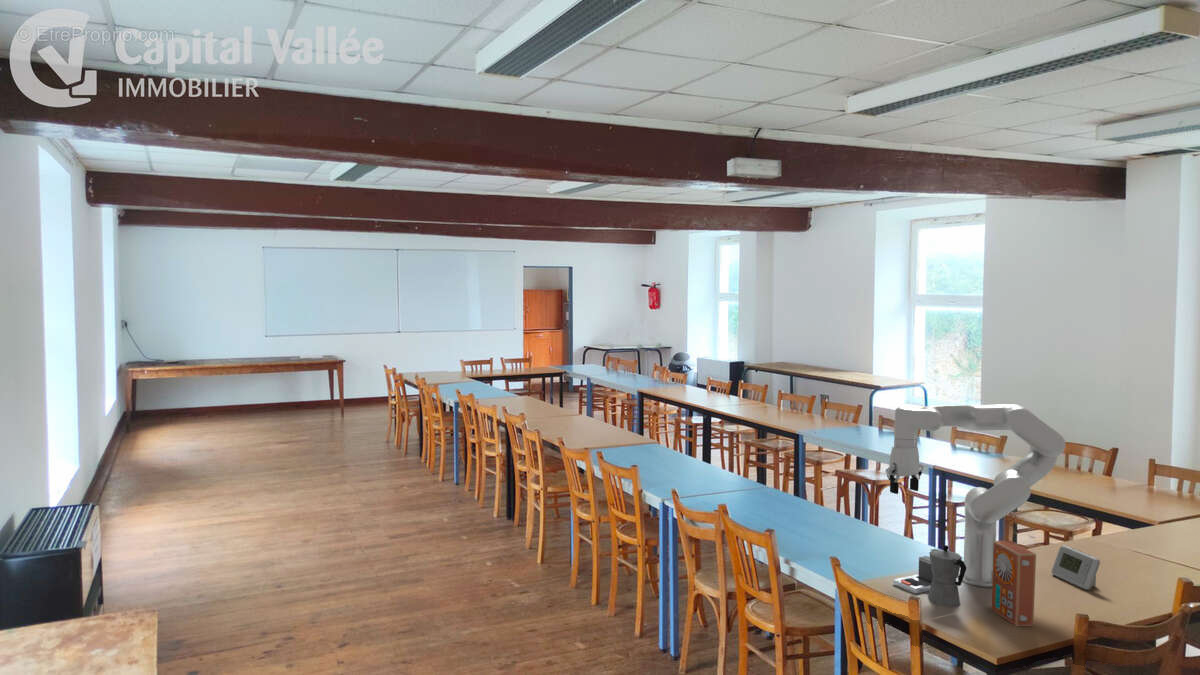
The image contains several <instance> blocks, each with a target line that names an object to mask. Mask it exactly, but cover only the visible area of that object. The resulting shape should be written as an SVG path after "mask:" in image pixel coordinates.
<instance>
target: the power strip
mask: <svg viewBox="0 0 1200 675" xmlns="http://www.w3.org/2000/svg"><path fill="white" fill-rule="evenodd" d="M918 574H919V573H917V574H913V575H908V576H904V577H903V576H902V577H899V578H894V579H893V581H892V584H893V585H892V586H895V587H898V588H900V589H903V590H905V591H907V592H910V593H912V594H914V595H918V594H923V593H927V592H929V591H930V587H931V583H929V582H926V581H924V580H921V579H919V578H918Z"/></svg>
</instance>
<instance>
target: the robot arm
mask: <svg viewBox="0 0 1200 675" xmlns="http://www.w3.org/2000/svg"><path fill="white" fill-rule="evenodd" d="M942 427H957V428H964V429H967V430H971V431H980V432H981V431H1011V432H1012V433H1014V434H1015V435H1016V436H1017V437H1019V438H1020V439H1021V440H1022V441H1023V442H1025V443H1026V444H1028V445H1029V447H1030V448H1029V450H1028V452H1027V453H1026V454H1025V455H1024V456H1023V457H1021V458H1020V460H1018V461H1016V462H1015V463H1014V464H1012V465H1010V466H1009V467H1008V468H1006V469H1004V470H1003V471H1001V472H1000V473H998V474H997V475H996V476H995V478H994V479H993V486H991V487H990V488H985V487H982V486H977V487H974V488H971V489H970V490H969V491H968V492H967V493H966V495H965V499H964V540H963V541H964V542H963V561H964V563H965V565H966V572H965V574H964V578H963V581H962V583H963V582H964V583H966V584H968V585H972V586H976V587H981V588H982V587H983V588H992V575H993V547H994V541H997V522H998V521H999V520H1001V519H1003V518H1004V517H1006V516H1008V515H1009V514H1010V513H1012V512H1014V511H1015V510H1017V509H1018V508H1020V507H1021V506H1022V505H1023V504H1025V503H1026V502H1027V500H1028V499H1029V498H1030V496H1031V492H1032V490H1031V488H1032V486H1034V485H1036V484H1037V483H1038V482H1040V481H1041V480H1042V479H1044V478H1045V477H1046V476H1048V475H1049V474H1051V472H1052V470H1053V469H1054V467H1055V465H1056V463H1057V461H1058V458H1059V457H1058V456H1060V455H1061V454H1062V453H1064V451H1065V449H1066V441H1065V438H1064V436H1063V435H1062V434H1060V433H1059V432H1058V431H1057V430H1055V429H1054V428H1052V427H1051V426H1050V425H1048V424H1047V423H1045V422H1044V421H1043V420H1042V419H1041V418H1039V417H1038V416H1036V415H1035V414H1034V413H1033V412H1032V411H1030V410H1029V409H1028V408H1026V407H1025V406H1023V405H1021V404H1012V403H1010V404H1009V403H1008V404H1007V403H1006V404H976V405H975V404H973V405H971V404H969V405H968V404H965V405H962V404H961V405H957V404H955V405H954V404H952V405H951V404H950V405H949V404H947V405H946V404H943V405H937V404H936V405H926V406H923V407H921V408H920V409H917V408H915V407H910V406H899V407H897V408H895V412H894V433H893V434H894V439H893V446H892V447H891V451H890V457H889V466H888V467H887V468H886V469H885V474H886V476H887V478H888V482H889V492H890V493H891V494H896V495H898V494H899V486H900V484H899V482H898V481H899V479H901V478H902V477H908V476H909V477H910V478H909V489H910V490H912V491H915V492H919V485H920V484H919V482H920V481H919V480H920V479H921V476H922V474H923V471H924V465H922V464H921V463H920V454H919V452H920V451H919V446H918V442H919V441H918V435H919V430H921V431H922V430H923V431H927V432H936V431H939V430H940V429H941V428H942ZM959 574H960V572H959ZM958 576H959V575H958Z"/></svg>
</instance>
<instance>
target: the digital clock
mask: <svg viewBox="0 0 1200 675" xmlns="http://www.w3.org/2000/svg"><path fill="white" fill-rule="evenodd" d="M1100 564H1101V560H1100V559H1098V558H1097V557H1093V556H1092V555H1090V554H1089V553H1086V552H1083V551H1081V550H1078V549H1076V548H1074V547H1070V546H1067V545H1063V544H1062V545H1060V546H1059V550H1058V551H1057V553H1056V557H1055V559H1054V563H1053V566H1052V568H1051V574H1052V575H1053V576H1056V577H1058V578H1059V579H1060V578H1061V579H1060V580H1062V579H1063V581H1064V580H1065V582H1066V581H1068V582H1067V583H1069V582H1070V583H1069V584H1071V585H1073V584H1074V585H1073V586H1075V585H1076V586H1075V587H1077V586H1078V587H1077V588H1079V587H1080V588H1081V589H1083V590H1085V591H1089V590H1091V589H1092V588H1093V587H1092V586H1095V587H1096V583H1097V582H1096V580H1097V572H1098V569H1099V567H1100Z"/></svg>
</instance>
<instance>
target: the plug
mask: <svg viewBox="0 0 1200 675" xmlns="http://www.w3.org/2000/svg"><path fill="white" fill-rule="evenodd" d="M917 574H918V578H919V579H921V580H924V581H926V582H929V583H931V582H932V579H933V574H932V570H931V561H930V556H927V555H925V556H924V555H923V556H919V557H918V573H917Z"/></svg>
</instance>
